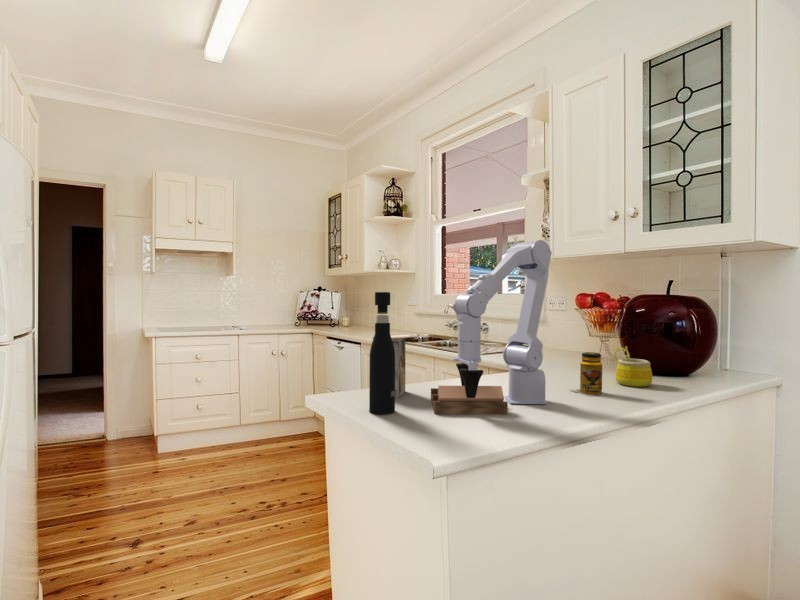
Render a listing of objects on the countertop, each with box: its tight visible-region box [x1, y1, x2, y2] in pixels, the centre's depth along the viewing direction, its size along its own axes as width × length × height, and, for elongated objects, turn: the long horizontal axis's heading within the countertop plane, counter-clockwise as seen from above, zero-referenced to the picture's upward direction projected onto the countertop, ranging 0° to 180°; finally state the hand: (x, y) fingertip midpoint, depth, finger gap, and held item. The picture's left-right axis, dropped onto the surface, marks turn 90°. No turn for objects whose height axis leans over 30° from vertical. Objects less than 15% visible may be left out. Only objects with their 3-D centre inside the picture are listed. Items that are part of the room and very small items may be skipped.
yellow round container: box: [614, 345, 653, 388], centre depth 157 cm, size 13×11×12 cm
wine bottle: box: [368, 291, 396, 416], centre depth 121 cm, size 6×6×30 cm
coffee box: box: [391, 337, 406, 399], centre depth 141 cm, size 9×6×16 cm
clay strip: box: [437, 385, 505, 401], centre depth 122 cm, size 16×4×3 cm
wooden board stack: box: [430, 387, 509, 416], centre depth 127 cm, size 18×16×3 cm
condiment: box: [569, 351, 609, 397], centre depth 145 cm, size 7×8×12 cm
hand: (468, 394), depth 123 cm, fingers open, 7 cm apart
